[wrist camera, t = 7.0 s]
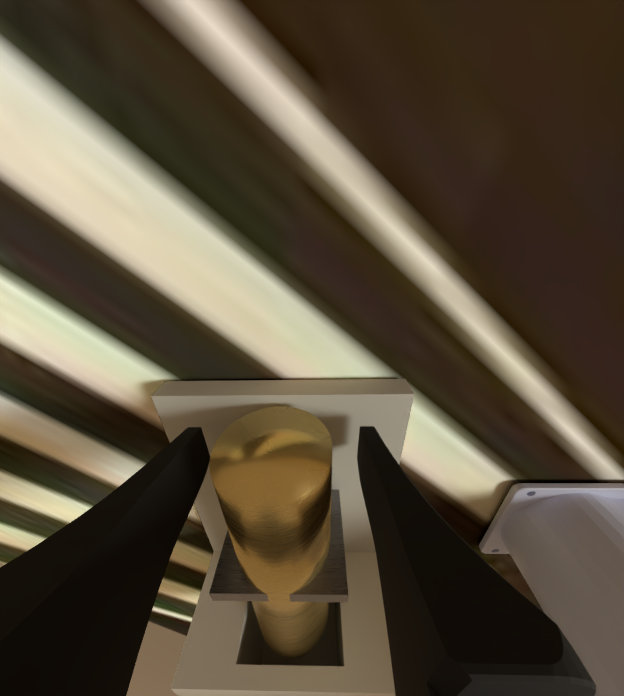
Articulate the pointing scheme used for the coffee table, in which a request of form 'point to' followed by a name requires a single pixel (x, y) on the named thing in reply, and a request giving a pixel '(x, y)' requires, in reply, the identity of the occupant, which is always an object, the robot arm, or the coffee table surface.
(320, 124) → the coffee table surface
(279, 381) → the housing
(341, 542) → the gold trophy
